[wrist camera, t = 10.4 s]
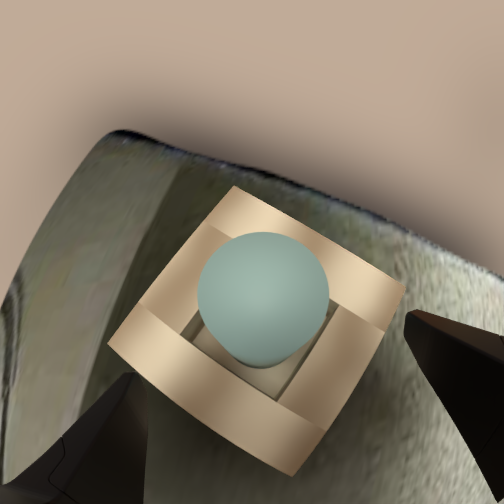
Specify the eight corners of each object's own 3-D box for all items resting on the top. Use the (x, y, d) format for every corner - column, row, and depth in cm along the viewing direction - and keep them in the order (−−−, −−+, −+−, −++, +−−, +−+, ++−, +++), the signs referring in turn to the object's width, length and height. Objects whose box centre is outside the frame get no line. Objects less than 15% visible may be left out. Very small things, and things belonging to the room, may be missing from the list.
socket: (383, 303, 21) (406, 287, 17) (286, 459, 16) (292, 477, 13) (237, 215, 24) (233, 185, 20) (132, 351, 20) (107, 343, 16)
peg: (312, 344, 19) (353, 313, 11) (245, 382, 18) (236, 382, 10) (274, 282, 21) (285, 212, 13) (209, 316, 20) (176, 266, 12)
